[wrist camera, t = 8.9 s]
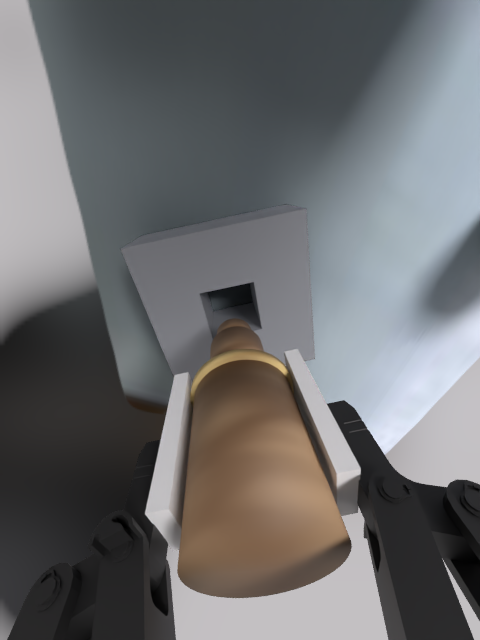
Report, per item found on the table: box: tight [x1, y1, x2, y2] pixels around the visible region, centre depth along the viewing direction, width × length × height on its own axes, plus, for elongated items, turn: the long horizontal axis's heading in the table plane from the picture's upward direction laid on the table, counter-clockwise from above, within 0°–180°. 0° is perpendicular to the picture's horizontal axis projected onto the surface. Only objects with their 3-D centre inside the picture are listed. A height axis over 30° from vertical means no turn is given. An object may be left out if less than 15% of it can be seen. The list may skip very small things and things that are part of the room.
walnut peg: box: [178, 318, 351, 598], centre depth 13 cm, size 5×5×13 cm
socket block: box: [120, 204, 315, 382], centre depth 24 cm, size 14×14×6 cm
